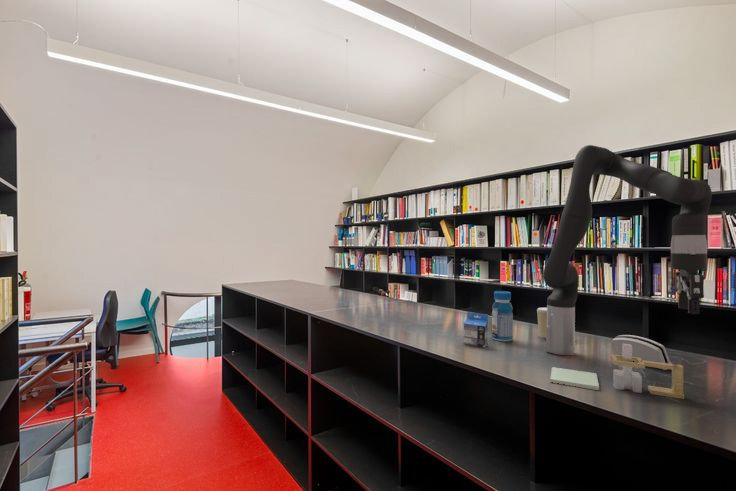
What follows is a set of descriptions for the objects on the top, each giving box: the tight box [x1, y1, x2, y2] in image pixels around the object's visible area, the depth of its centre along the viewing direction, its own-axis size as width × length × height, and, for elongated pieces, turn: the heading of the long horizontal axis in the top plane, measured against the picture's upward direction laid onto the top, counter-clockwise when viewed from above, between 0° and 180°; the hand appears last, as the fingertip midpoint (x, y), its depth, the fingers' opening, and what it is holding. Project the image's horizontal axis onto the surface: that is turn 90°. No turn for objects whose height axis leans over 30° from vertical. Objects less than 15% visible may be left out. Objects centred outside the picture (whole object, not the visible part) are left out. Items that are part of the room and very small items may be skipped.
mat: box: [549, 366, 600, 391], centre depth 109 cm, size 12×12×1 cm
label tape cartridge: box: [463, 311, 489, 348], centre depth 148 cm, size 9×4×12 cm, turn 53°
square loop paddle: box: [610, 353, 685, 400], centre depth 101 cm, size 16×7×8 cm, turn 62°
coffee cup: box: [536, 307, 547, 339], centre depth 161 cm, size 9×9×12 cm
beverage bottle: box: [491, 290, 514, 342], centre depth 156 cm, size 8×8×20 cm
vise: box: [612, 344, 643, 394], centre depth 106 cm, size 6×11×12 cm, turn 152°
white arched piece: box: [611, 334, 673, 371], centre depth 126 cm, size 17×5×10 cm, turn 25°
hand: (688, 311), depth 101 cm, fingers open, 8 cm apart
